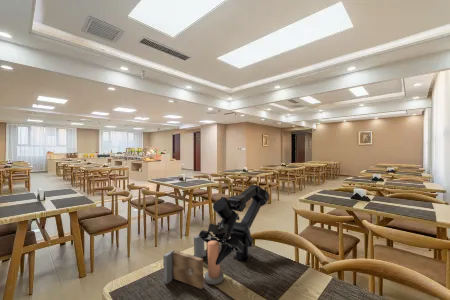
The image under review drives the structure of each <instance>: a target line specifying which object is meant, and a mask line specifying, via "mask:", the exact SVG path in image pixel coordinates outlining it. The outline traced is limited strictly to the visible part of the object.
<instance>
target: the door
mask: <svg viewBox="0 0 450 300" xmlns="http://www.w3.org/2000/svg"><path fill="white" fill-rule="evenodd" d="M169 252H170V253H172V279H174V280H177V281H178V282H182V283H184V284H186V285H189V286H192V287H195V288H197V289H200V290H202V289H203V288H204V287H205V283H204V281H205V276H204V258H203V257H202V258H199V257H195V256H194V255H192V254H188V253H184V252H180V251H177V250H174V249H171V250H170V251H169Z"/></svg>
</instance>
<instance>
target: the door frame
mask: <svg viewBox="0 0 450 300" xmlns="http://www.w3.org/2000/svg"><path fill="white" fill-rule="evenodd" d="M193 250H194V251H193V252H194V254H193V256H195V257H199V258H202V259H203V258H204V257H206V254H205V241H204V240H203V239H202V238H200V237H199V234H197V235H196V236H194V237H193ZM162 260H163V283H164V284H166V285H168V284H169V283H170V282H172V281H173V278H172V253H170V251H169V252H166V253H165V254H163V259H162Z"/></svg>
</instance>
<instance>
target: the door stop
mask: <svg viewBox="0 0 450 300" xmlns="http://www.w3.org/2000/svg"><path fill="white" fill-rule="evenodd" d="M207 245H208V261H207V271H206V272H205V274H204V281H205V283H207V284H208V285H213V286H214V285H219V284H221V283H222V282H223V281H224V272H223V271H222V270H221V269H220V268H221V267H220V266H221V265H220V264H221V262H220V263H219V264H218V265H216V261H217V258H218V256H219V253H220V243H219V242H218V241H209V242H208V243H206V246H207Z"/></svg>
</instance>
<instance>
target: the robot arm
mask: <svg viewBox="0 0 450 300" xmlns="http://www.w3.org/2000/svg"><path fill="white" fill-rule="evenodd" d="M250 200H252V201H251V203H250V205H249V207H248V209H247V210H246V212H245V214H244V216H243V218H242V219H241V221H240V216H239V213H238V212H243V211H244V209H246V206H247V203H248V202H249V201H250ZM269 200H270V193H269V192H268V191H267V190H266V189H264V188H262V187H261V186H260V185H254V184H250V185H249V187H248V188H246V189H245V190H244V191H242V192H241V193H239V194H236V195H232V196H229V197H228V198H226V197H225V196H221V197H220V199H217V200H216V201H215V202H214V203H213V204H212V209H213V211H214V212H215V213H216V214H217V215H218V216H219V218H220V219H221V221H218V222H217V224H216V223H209V225H208V228H207V230H200V232H199V234H198V235H199V237H200V238H202V239H203V240H204V243H206V251H205V252H206V254H205V262H208V245H207V243H208V242H209V241H218V242H219V244H221V248H220V250H219V256H218V258H217V261H216V265H218V264H219V263H220V264H221V262H222V261H223V260H225V258H227V257H228V256H229V255H230V254H232V253H234V250H235V254H234V256H233V259H234V260H237V261H241V262H247V261H248V260H249V259H250V258H251V257H252V254H251V253H249V252H250V251H249V249H250V248H251V247H252V246H253V244H254V238H253V237H252V236H251V227H252V226H253V224H254V221H255V219H256V217H257V215H258V213H259V211H260V209H261V207H263V206H264V205H266V204H267V203H268V202H269ZM238 221H240V222H238Z"/></svg>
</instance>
